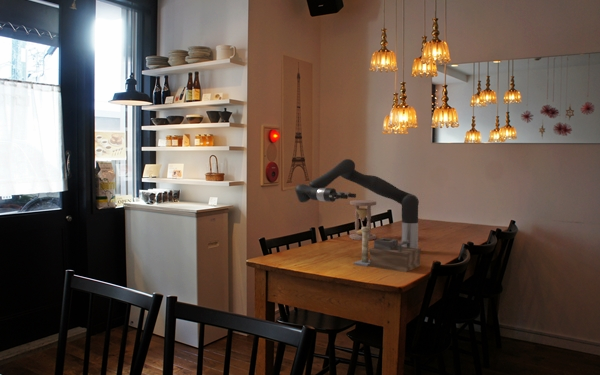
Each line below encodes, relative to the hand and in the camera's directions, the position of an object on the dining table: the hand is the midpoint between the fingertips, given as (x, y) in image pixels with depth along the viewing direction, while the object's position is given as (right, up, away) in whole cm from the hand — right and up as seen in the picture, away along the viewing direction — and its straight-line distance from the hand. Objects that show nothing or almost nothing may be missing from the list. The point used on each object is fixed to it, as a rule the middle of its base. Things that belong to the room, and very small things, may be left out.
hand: (351, 196), depth 280 cm
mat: (+6, -35, -12) cm, 37 cm away
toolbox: (+20, -35, -17) cm, 44 cm away
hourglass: (+14, -30, +68) cm, 75 cm away
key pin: (+6, -34, -12) cm, 36 cm away
